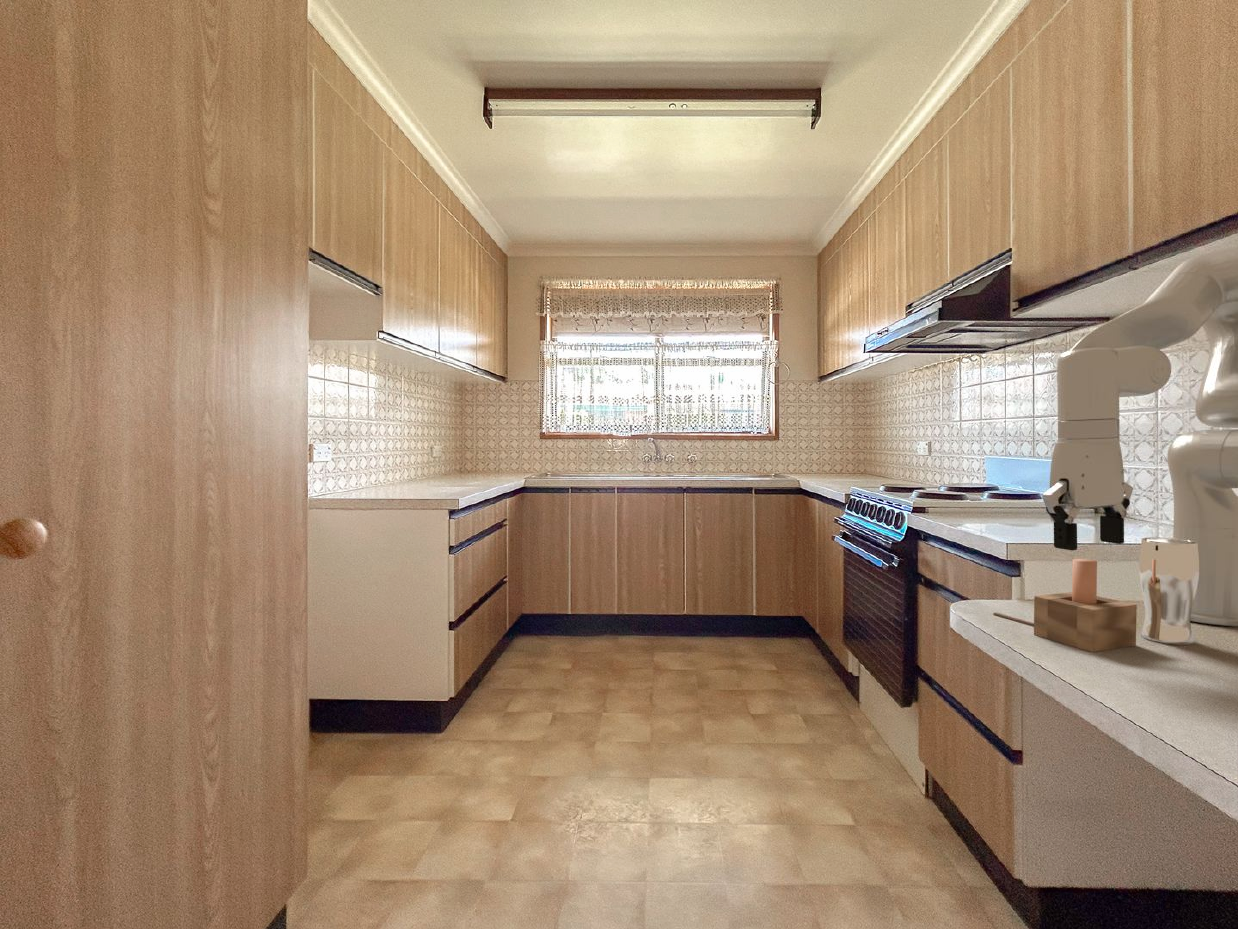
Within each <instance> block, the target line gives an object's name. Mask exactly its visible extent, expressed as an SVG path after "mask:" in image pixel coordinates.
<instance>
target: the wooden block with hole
mask: <svg viewBox="0 0 1238 929" xmlns="http://www.w3.org/2000/svg"><path fill="white" fill-rule="evenodd" d="M1033 598H1034V600H1033V601H1034V603H1033V604H1034V606H1033V610H1034V611H1033V612H1034V614H1033V623H1034V626H1033V635H1035V636H1038V637H1040V638H1043V639H1048V640H1051V641H1054V642H1057V643H1061V644H1064V645H1068V646H1071V647H1073V648H1078V649H1081V650H1083V651H1087V652H1092V653H1094V652H1099V651H1106V650H1114V649H1120V648H1121V649H1122V648H1128V647H1133V646H1136V645H1137V615H1138V613H1137V612H1138V611H1137V610H1138V608H1137V606H1138V605H1137V604H1135V603H1131V602H1126V601H1123V600H1122V601H1121V600H1117V599H1112V598H1108V597H1102V596H1099V595H1097V600H1096V604H1094V605H1086V604H1081V603H1077V602H1073V601H1072V591H1071V592H1070V591H1069V592H1061V593H1051V594H1042V595H1034V597H1033Z"/></svg>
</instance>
